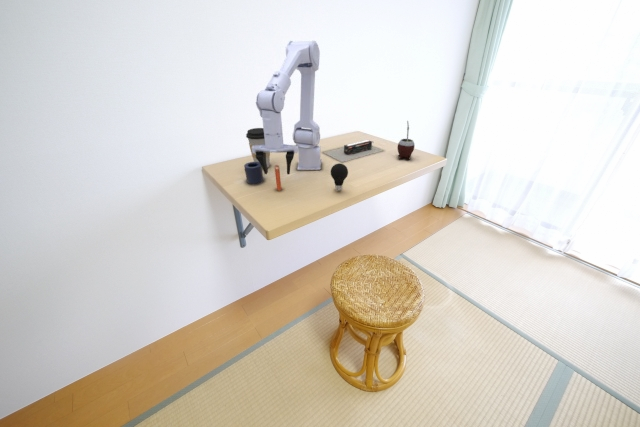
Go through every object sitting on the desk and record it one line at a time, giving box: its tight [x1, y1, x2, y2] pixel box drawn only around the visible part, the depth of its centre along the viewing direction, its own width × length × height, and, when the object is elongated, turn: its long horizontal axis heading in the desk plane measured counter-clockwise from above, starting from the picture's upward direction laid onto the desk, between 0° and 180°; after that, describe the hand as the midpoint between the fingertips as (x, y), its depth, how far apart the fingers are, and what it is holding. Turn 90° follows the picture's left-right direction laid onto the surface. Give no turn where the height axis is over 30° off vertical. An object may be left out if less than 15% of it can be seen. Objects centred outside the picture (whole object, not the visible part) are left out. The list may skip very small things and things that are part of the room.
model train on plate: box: [323, 139, 383, 163], centre depth 123 cm, size 14×25×4 cm, turn 124°
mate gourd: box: [396, 120, 415, 161], centre depth 113 cm, size 8×8×15 cm
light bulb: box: [330, 162, 349, 192], centre depth 88 cm, size 6×6×10 cm
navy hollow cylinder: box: [243, 161, 265, 186], centre depth 96 cm, size 6×6×6 cm
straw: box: [274, 164, 282, 191], centre depth 89 cm, size 2×2×9 cm
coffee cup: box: [245, 127, 271, 170], centre depth 105 cm, size 9×9×15 cm
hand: (277, 172), depth 88 cm, fingers open, 7 cm apart
